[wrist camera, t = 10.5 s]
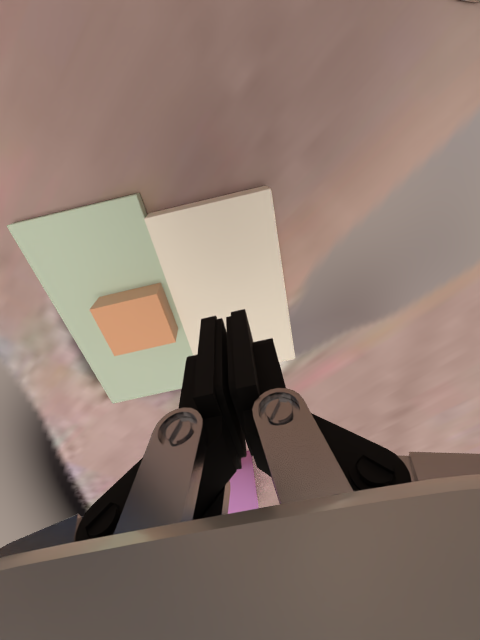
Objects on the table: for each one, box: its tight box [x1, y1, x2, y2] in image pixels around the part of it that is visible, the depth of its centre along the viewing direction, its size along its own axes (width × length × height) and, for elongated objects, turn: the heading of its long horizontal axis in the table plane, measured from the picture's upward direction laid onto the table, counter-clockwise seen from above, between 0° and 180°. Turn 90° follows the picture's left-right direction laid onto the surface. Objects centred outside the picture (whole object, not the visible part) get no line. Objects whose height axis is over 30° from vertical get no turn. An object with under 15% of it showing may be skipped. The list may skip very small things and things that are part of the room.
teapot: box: [228, 451, 259, 514], centre depth 46 cm, size 15×25×14 cm, turn 4°
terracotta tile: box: [90, 283, 178, 356], centre depth 32 cm, size 7×6×3 cm
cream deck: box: [144, 185, 295, 362], centre depth 33 cm, size 12×20×3 cm, turn 12°
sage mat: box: [7, 193, 193, 403], centre depth 34 cm, size 13×24×2 cm, turn 12°
